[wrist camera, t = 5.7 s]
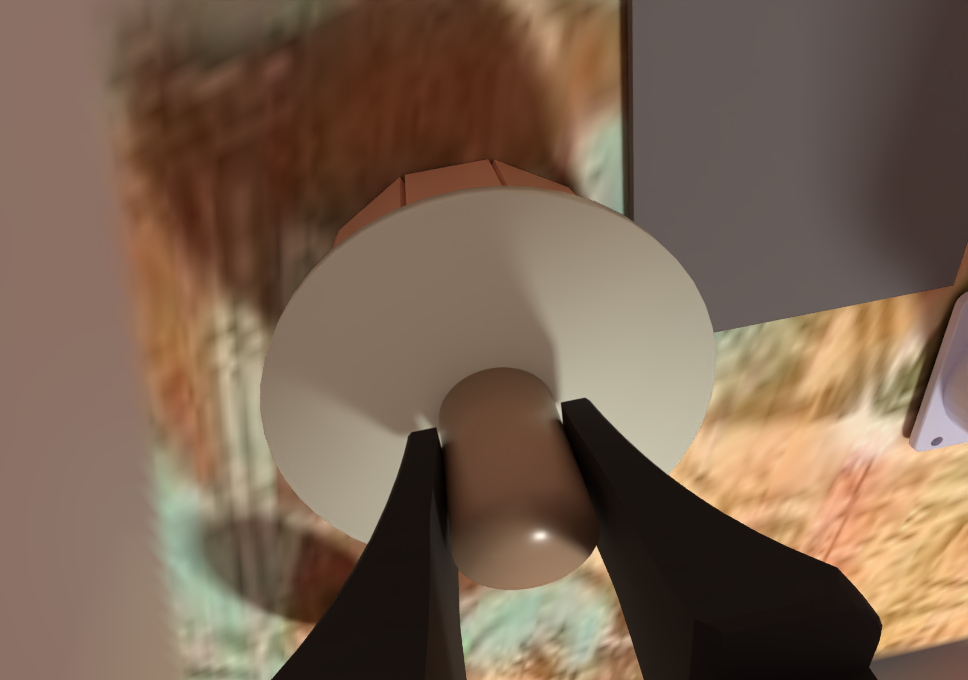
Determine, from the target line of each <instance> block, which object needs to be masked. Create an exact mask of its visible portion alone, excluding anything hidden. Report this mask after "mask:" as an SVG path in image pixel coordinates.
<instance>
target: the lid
mask: <svg viewBox="0 0 968 680" xmlns="http://www.w3.org/2000/svg"><path fill="white" fill-rule="evenodd" d="M715 367H716V348H715V341H714V334H713V327H712V324H711V321H710V318H709V314H708V311H707V308H706V305H705V303H704V301H703V299H702V297H701V295H700V293H699V291H698V289H697V287H696V285H695V283H694V281H693V280H692V279H691V277H690V276H689V275H688V273H687V272H686V271H685V270H684V268H683V267H682V266H681V264H680V263H679V262H678V260H677V259H676V258H675V257H674V256H673V255H672V254H671V253H670V252H669V251H668V250H667V249H666V248H665V247H664V246H662V245H661V244H660V243H659V242H658V241H657V240H656V239H655V238H654V237H653V236H652V235H651V234H650V233H649V232H648V231H646V230H645V229H643V228H642V227H641V226H639V225H638V224H636V223H635V222H633V221H632V220H630V219H629V218H627V217H626V216H624V215H623V214H621V213H619V212H616V211H614V210H612V209H610V208H608V207H606V206H604V205H602V204H600V203H598V202H595V201H592V200H589V199H586V198H583V197H579V196H576V195H573V194H570V193H566V192H562V191H556V190H550V189H544V188H537V187H531V186H487V187H478V188H468V189H460V190H456V191H452V192H447V193H443V194H439V195H435V196H431V197H426V198H424V199H421V200H418V201H416V202H413V203H410V204H408V205H405V206H403V207H400V208H397V209H395V210H392V211H390V212H389V213H387V214H385V215H383V216H381V217H379V218H377V219H376V220H374V221H372V222H370V223H368V224H366V225H364V226H363V227H361V228H360V229H358V230H357V231H356V232H354V233H353V234H352V235H350V236H349V237H347V238H346V239H345V240H343V241H342V242H341V243H339V244H338V245H336V246H335V247H334V248H333V249H332V250H331V251H330V252H329V253H328V254H327V255H326V256H325V257H324V258H323V259H322V260H321V261H320V262H318V263H317V264H316V265H315V266H314V267H313V268H312V269H311V271H310V272H309V273H308V275H307V276H306V277H305V278H304V280H303V281H302V282H301V284H300V285H299V286H298V288H297V289H296V290H295V291H294V293H293V294H292V296H291V298H290V300H289V302H288V304H287V305H286V307H285V309H284V311H283V313H282V314H281V316H280V318H279V321H278V323H277V326H276V329H275V332H274V335H273V337H272V340H271V343H270V346H269V349H268V352H267V355H266V357H265V362H264V368H263V374H262V379H261V385H260V411H261V416H262V422H263V428H264V434H265V437H266V440H267V443H268V446H269V448H270V451H271V454H272V457H273V459H274V461H275V462H276V464H277V466H278V468H279V470H280V472H281V473H282V475H283V477H284V479H285V480H286V481H287V482H288V484H289V485H290V486H291V488H292V489H293V490H294V492H295V493H296V494H297V495H298V497H299V498H300V499H301V500H302V501H303V502H305V503H306V504H307V505H308V506H309V507H310V508H311V509H312V510H313V511H314V512H315V513H316V514H317V515H319V516H320V517H321V518H323V519H324V520H325V521H327V522H328V523H329V524H331V525H332V526H333V527H335V528H337V529H339V530H340V531H342V532H344V533H346V534H347V535H349V536H351V537H353V538H354V539H357V540H359V541H361V542H364V543H366V544H368V542H369V540H370V538H371V536H372V534H373V532H374V530H375V528H376V525H377V523H378V521H379V519H380V517H381V514H382V512H383V510H384V508H385V505H386V503H387V501H388V498H389V495H390V493H391V490H392V488H393V485H394V482H395V480H396V477H397V474H398V471H399V468H400V465H401V462H402V458H403V455H404V451H405V447H406V443H407V438H408V436H409V435H410V433H411V432H414V431H419V430H424V429H429V428H434V427H436V428H437V432H438V435H439V439H440V443H441V447H442V456H443V467H444V477H445V488H446V498H447V508H448V518H449V529H450V539H451V549H452V556H453V560H454V562H455V564H456V566H457V568H458V569H459V570H460V571H461V572H462V574H464V575H465V576H466V577H467V578H469V579H470V580H472V581H474V582H476V583H478V584H480V585H483V586H486V587H490V588H495V589H503V590H520V589H528V588H534V587H538V586H542V585H545V584H548V583H551V582H554V581H556V580H558V579H560V578H562V577H564V576H566V575H568V574H569V573H571V572H573V571H574V570H575V569H577V568H578V567H579V566H581V565H582V564H583V563H584V562H585V561H586V560H587V558H588V557H589V556H590V555H591V554H592V552H593V550H594V549H595V547H596V545H597V542H598V539H599V535H600V525H599V520H598V517H597V514H596V512H595V509H594V506H593V504H592V501H591V498H590V496H589V493H588V490H587V488H586V485H585V482H584V480H583V477H582V474H581V472H580V469H579V466H578V464H577V461H576V458H575V455H574V453H573V450H572V447H571V445H570V442H569V439H568V437H567V434H566V431H565V429H564V426H563V421H562V411H561V402H565V401H570V400H575V399H580V398H587V399H589V400H590V401H591V402H592V403H593V405H594V406H595V407H596V408H597V409H598V410H599V411H600V412H601V414H602V415H603V416H604V417H605V418H606V419H607V420H608V421H609V422H610V423H611V424H612V425H613V426H614V427H615V428H616V429H617V430H618V431H619V432H620V433H621V434H622V435H623V436H624V437H625V438H626V439H627V440H628V441H629V442H630V443H632V444H633V445H634V446H635V447H636V448H637V449H638V450H639V451H640V452H641V453H642V454H644V455H645V456H646V457H647V458H648V459H649V460H651V461H652V462H653V463H654V464H655V465H657V466H658V467H659V468H660V469H661V470H663V471H664V472H665V473H666V474H668V475H669V474H670V472H671V471H672V470H673V469H674V468H675V466H676V465H677V464H678V463H679V462H680V460H681V459H682V457H683V456H684V454H685V453H686V451H687V450H688V448H689V447H690V445H691V444H692V442H693V441H694V438H695V436H696V434H697V432H698V430H699V428H700V426H701V424H702V422H703V420H704V417H705V414H706V411H707V408H708V405H709V402H710V399H711V395H712V390H713V385H714V379H715Z"/></svg>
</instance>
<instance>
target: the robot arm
mask: <svg viewBox="0 0 968 680" xmlns="http://www.w3.org/2000/svg"><path fill="white" fill-rule="evenodd" d="M561 411H562V421H563V426H564V429H565V431H566V434H567V437H568V439H569V442H570V445H571V447H572V450H573V453H574V455H575V458H576V461H577V464H578V466H579V469H580V472H581V474H582V477H583V480H584V482H585V485H586V488H587V490H588V493H589V496H590V498H591V501H592V504H593V506H594V509H595V512H596V514H597V517H598V520H599V525H600V535H599V539H598V542H597V548H598V550H599V552H600V555H601V557H602V559H603V562H604V564H605V566H606V569H607V571H608V573H609V576H610V578H611V580H612V583H613V585H614V588H615V591H616V593H617V596H618V599H619V602H620V605H621V608H622V611H623V614H624V617H625V621H626V624H627V627H628V630H629V633H630V636H631V639H632V643H633V646H634V649H635V652H636V656H637V659H638V662H639V665H640V669H641V672H642V675H643V678H644V680H877V678H876V677H875V675H874V674H873V672H872V671H871V669H870V668H869V666H870V663H871V661H872V658H873V656H874V653H875V651H876V648H877V646H878V643H879V641H880V636H881V630H882V624H881V621H880V618H879V616H878V615H877V613H876V612H875V611H874V609H873V608H872V607H871V606H870V604H869V603H868V602H867V600H866V599H865V598H864V596H863V595H862V594H861V593H860V592H859V591H858V589H857V588H856V587H855V586H854V585H853V584H852V583H851V582H850V581H849V580H848V579H847V578H846V576H845V575H844V574H843V573H842V572H841V571H840V570H839V569H838V568H837V567H834V566H832V565H830V564H827V563H825V562H823V561H820V560H818V559H815V558H813V557H811V556H808V555H806V554H803V553H801V552H799V551H796V550H794V549H791V548H789V547H787V546H785V545H783V544H781V543H779V542H777V541H775V540H773V539H771V538H769V537H766V536H764V535H762V534H760V533H758V532H756V531H755V530H753V529H751V528H749V527H747V526H746V525H744V524H742V523H740V522H739V521H737V520H735V519H733V518H732V517H730V516H728V515H726V514H724V513H723V512H721V511H719V510H718V509H716V508H715V507H713V506H712V505H710V504H708V503H707V502H705V501H704V500H702V499H701V498H699V497H698V496H696V495H695V494H694V493H692V492H691V491H689V490H688V489H686V488H685V487H684V486H682V485H681V484H679V483H678V482H677V481H675V480H674V479H673V478H672V477H670V476H669V475H668V474H666V473H665V472H664V471H663V470H661V469H660V468H659V467H658V466H657V465H655V464H654V463H653V462H652V461H651V460H649V459H648V458H647V457H646V456H645V455H644V454H642V453H641V452H640V451H639V450H638V449H637V448H636V447H635V446H634V445H633V444H632V443H630V442H629V441H628V440H627V439H626V438H625V437H624V436H623V435H622V434H621V433H620V432H619V431H618V430H617V429H616V428H615V427H614V426H613V425H612V424H611V423H610V422H609V421H608V420H607V419H606V418H605V417H604V416H603V415H602V414H601V412H600V411H599V410H598V409H597V408H596V407H595V406H594V405H593V403H592V402H591V401H590V400H589V399H587V398H580V399H575V400H570V401H565V402H561ZM966 442H968V292H966V293H964V294H963V295H961V296H960V297H959V298H958V299H957V301H956V303H955V306H954V309H953V312H952V315H951V318H950V321H949V324H948V326H947V329H946V332H945V335H944V338H943V341H942V344H941V347H940V350H939V353H938V356H937V359H936V362H935V365H934V368H933V371H932V374H931V377H930V380H929V383H928V386H927V389H926V392H925V395H924V398H923V401H922V404H921V407H920V410H919V412H918V415H917V418H916V421H915V424H914V427H913V430H912V433H911V436H910V439H909V445H910V446H911V447H912V448H913V449H914V450H916V451H927V450H932V449H936V448H941V447H946V446H951V445H956V444H961V443H966ZM271 680H467V679H466V671H465V663H464V655H463V647H462V638H461V629H460V614H459V582H458V568H457V566H456V564H455V562H454V560H453V556H452V549H451V539H450V529H449V518H448V508H447V498H446V488H445V477H444V467H443V456H442V447H441V443H440V439H439V435H438V432H437V428H436V427H434V428H429V429H424V430H419V431H414V432H411V433H410V435H409V436H408V438H407V443H406V447H405V451H404V455H403V458H402V462H401V465H400V468H399V471H398V474H397V477H396V480H395V482H394V485H393V488H392V490H391V493H390V495H389V498H388V501H387V503H386V505H385V508H384V510H383V512H382V514H381V517H380V519H379V521H378V523H377V525H376V528H375V530H374V532H373V534H372V536H371V538H370V540H369V542H368V544H367V546H366V548H365V550H364V552H363V553H362V555H361V557H360V559H359V560H358V562H357V564H356V566H355V568H354V569H353V571H352V573H351V574H350V576H349V577H348V579H347V581H346V582H345V584H344V585H343V587H342V589H341V590H340V592H339V593H338V595H337V596H336V598H335V599H334V601H333V602H332V604H331V605H330V607H329V608H328V609H327V611H326V612H325V614H324V615H323V616H322V618H321V619H320V620H319V622H318V623H317V624H316V626H315V627H314V628H313V630H312V631H311V632H310V634H309V635H308V636H307V638H306V639H305V640H304V642H303V643H302V644H301V645H300V647H299V648H298V649H297V650H296V652H295V653H294V654H293V655H292V656H291V657H290V659H289V660H288V661H287V662H286V663H285V664H284V665H283V667H282V668H281V669H280V670H279V671H278V672H277V674H276V675H275V676H274V677H273V678H272V679H271Z"/></svg>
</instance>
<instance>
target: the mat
mask: <svg viewBox="0 0 968 680" xmlns="http://www.w3.org/2000/svg"><path fill="white" fill-rule="evenodd" d="M627 19H628V110H629V200H630V220H632V221H633V222H635V223H636V224H638V225H639V226H641V227H642V228H643V229H645V230H646V231H648V232H649V233H650V234H651V235H652V236H653V237H654V238H655V239H656V240H657V241H658V242H659V243H660V244H661V245H662V246H664V247H665V248H666V249H667V250H668V251H669V252H670V253H671V254H672V255H673V256H674V257H675V258H676V259H677V260H678V262H679V263H680V264H681V266H682V267H683V268H684V270H685V271H686V272H687V273H688V275H689V276H690V277H691V279H692V280H693V281H694V283H695V285H696V287H697V289H698V291H699V293H700V295H701V297H702V299H703V301H704V303H705V305H706V308H707V311H708V314H709V318H710V321H711V324H712V327H713V333H714V332H719V331H724V330H729V329H734V328H739V327H744V326H749V325H755V324H760V323H765V322H770V321H775V320H780V319H785V318H790V317H795V316H800V315H805V314H810V313H815V312H821V311H826V310H831V309H836V308H841V307H846V306H851V305H856V304H861V303H866V302H871V301H876V300H881V299H887V298H892V297H897V296H902V295H907V294H912V293H917V292H922V291H927V290H932V289H937V288H942V287H947V286H953V285H954V282H955V279H956V276H957V272H958V269H959V266H960V263H961V260H962V257H963V254H964V251H965V248H966V245H967V242H968V0H627Z"/></svg>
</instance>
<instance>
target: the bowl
mask: <svg viewBox="0 0 968 680" xmlns="http://www.w3.org/2000/svg"><path fill="white" fill-rule="evenodd" d="M487 186H531V187H537V188H544V189H550V190H556V191H562V192H566V193H570V194H573V195H576V194H575V193H574V191H571V190H570V188H569V187H566V186H564V185H561V184H558V183H556V182H553V181H550V180H548V179H545V178H542V177H540V176H537V175H534V174H532V173H529V172H526V171H523V170H521V169H518V168H515V167H513V166H510V165H507V164H505V163H502V162H499V161H497V160H494V161H493V164H492V165H491V163H490V161H489V159H486V160H481V161H476V162H470V163H465V164H459V165H454V166H449V167H443V168H438V169H432V170H427V171H422V172H416V173H411V174H405V183H404V182H403V180H402V179H401V178H400V177H399V178H398V179H397V180H396V181H395V182H393V183H392V184H391V185H390V186H389V187H388V188H387V189H385V190H384V191H383V192H382V193H381V194H380V195H379V196H377V197H376V198H375V199H374V200H373V201H372V202H371V203H369V204H368V205H367V206H366V207H365V208H364V209H363V210H361V211H360V212H359V213H358V214H357V215H356V216H355V217H353V218H352V219H351V220H350V221H349V222H348V223H347V224H345V225H344V226H343V227H342V228H341V229H340V230H339V231H338V235H336V236H335V239H334V243H333V247H332V249H333V248H334V247H335V246H336V245H338V244H339V243H341V242H342V241H343V240H345V239H346V238H347V237H349V236H350V235H352V234H353V233H354V232H356V231H357V230H358V229H360V228H361V227H363V226H364V225H366V224H368V223H370V222H372V221H374V220H376V219H377V218H379V217H381V216H383V215H385V214H387V213H389V212H390V211H392V210H395V209H397V208H400V207H403V206H405V205H408V204H410V203H413V202H416V201H418V200H421V199H424V198H426V197H431V196H435V195H439V194H443V193H447V192H452V191H456V190H460V189H468V188H478V187H487ZM576 196H577V195H576Z"/></svg>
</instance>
